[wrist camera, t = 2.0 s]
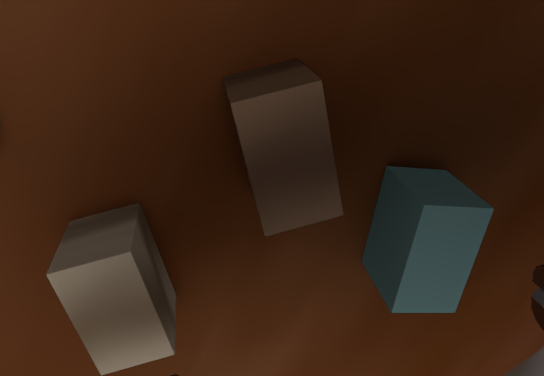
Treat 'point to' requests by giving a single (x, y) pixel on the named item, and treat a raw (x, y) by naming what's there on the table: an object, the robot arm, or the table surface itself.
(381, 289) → the teal block
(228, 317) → the table surface
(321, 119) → the walnut block
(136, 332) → the maple block
